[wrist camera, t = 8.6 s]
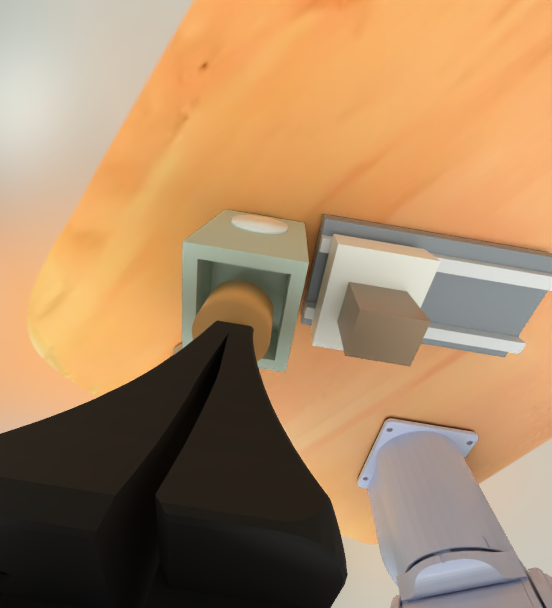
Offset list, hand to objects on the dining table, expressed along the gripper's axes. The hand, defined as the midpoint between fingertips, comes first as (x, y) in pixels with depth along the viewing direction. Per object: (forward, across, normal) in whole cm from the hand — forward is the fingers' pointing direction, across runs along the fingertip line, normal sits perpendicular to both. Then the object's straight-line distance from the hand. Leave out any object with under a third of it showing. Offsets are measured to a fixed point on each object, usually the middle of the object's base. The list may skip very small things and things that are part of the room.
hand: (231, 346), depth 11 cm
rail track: (+10, -10, 0) cm, 14 cm away
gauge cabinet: (+10, 0, 0) cm, 10 cm away
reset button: (+3, 0, 0) cm, 3 cm away
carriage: (+7, -6, 0) cm, 10 cm away
